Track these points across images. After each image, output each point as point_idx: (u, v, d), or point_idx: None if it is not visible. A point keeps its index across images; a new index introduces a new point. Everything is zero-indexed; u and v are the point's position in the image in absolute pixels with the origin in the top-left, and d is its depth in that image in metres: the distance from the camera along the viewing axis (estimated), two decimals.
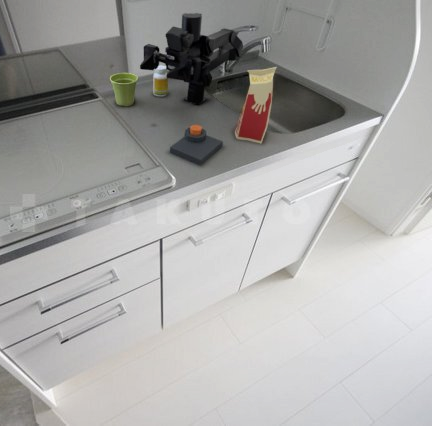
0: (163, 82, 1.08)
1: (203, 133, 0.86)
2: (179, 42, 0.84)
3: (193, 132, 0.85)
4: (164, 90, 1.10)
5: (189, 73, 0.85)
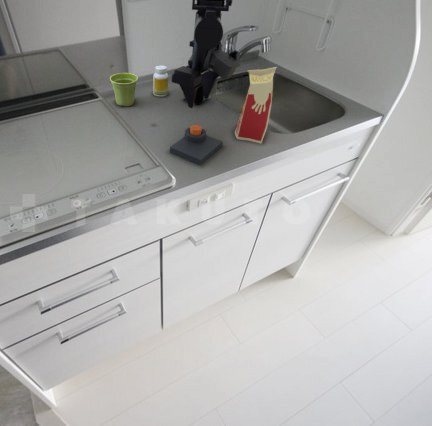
0: (163, 82, 1.08)
1: (203, 133, 0.86)
2: None
3: (193, 132, 0.85)
4: (164, 90, 1.10)
5: None
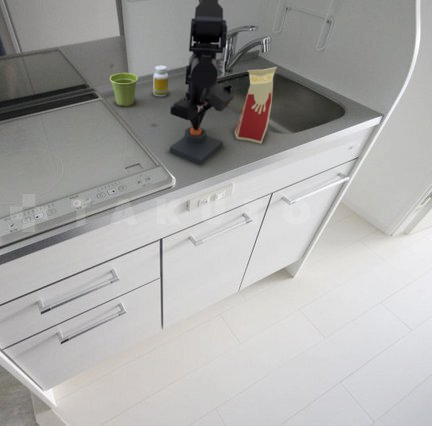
0: (163, 82, 1.08)
1: (203, 133, 0.86)
2: None
3: (193, 134, 0.86)
4: (164, 90, 1.10)
5: None
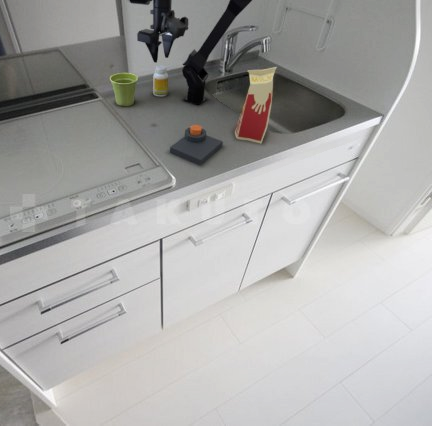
0: (163, 82, 1.08)
1: (203, 133, 0.86)
2: None
3: (193, 132, 0.85)
4: (164, 90, 1.10)
5: None
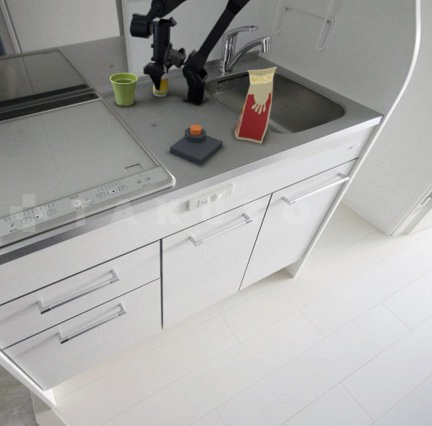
0: (163, 82, 1.08)
1: (203, 133, 0.86)
2: None
3: (193, 132, 0.85)
4: (164, 90, 1.10)
5: None
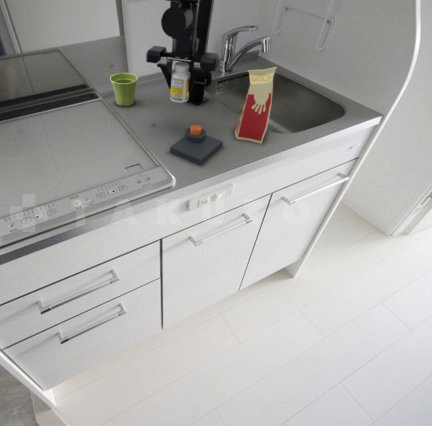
0: None
1: (203, 133, 0.86)
2: None
3: (193, 132, 0.85)
4: None
5: None
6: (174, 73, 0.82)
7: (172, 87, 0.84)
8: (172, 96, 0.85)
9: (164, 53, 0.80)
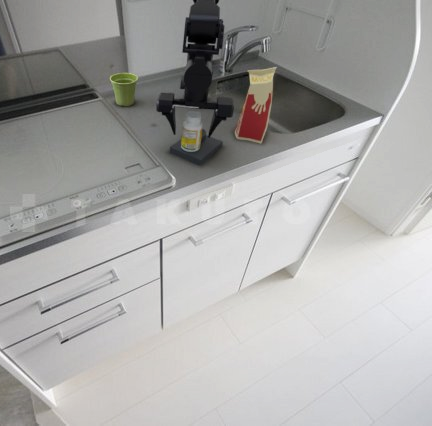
0: None
1: (203, 133, 0.86)
2: None
3: None
4: None
5: None
6: (187, 124, 0.78)
7: (184, 138, 0.80)
8: (184, 146, 0.81)
9: (175, 101, 0.75)
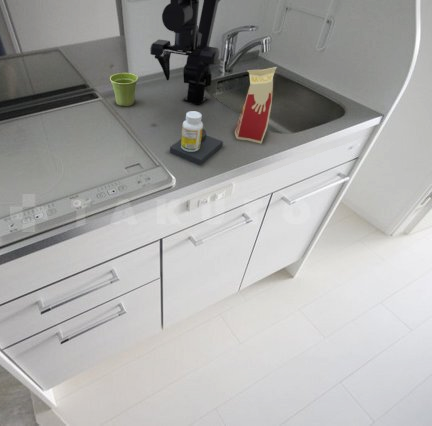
0: None
1: (203, 133, 0.86)
2: None
3: None
4: None
5: None
6: (186, 124, 0.78)
7: (184, 138, 0.80)
8: (184, 146, 0.81)
9: (167, 46, 0.85)
